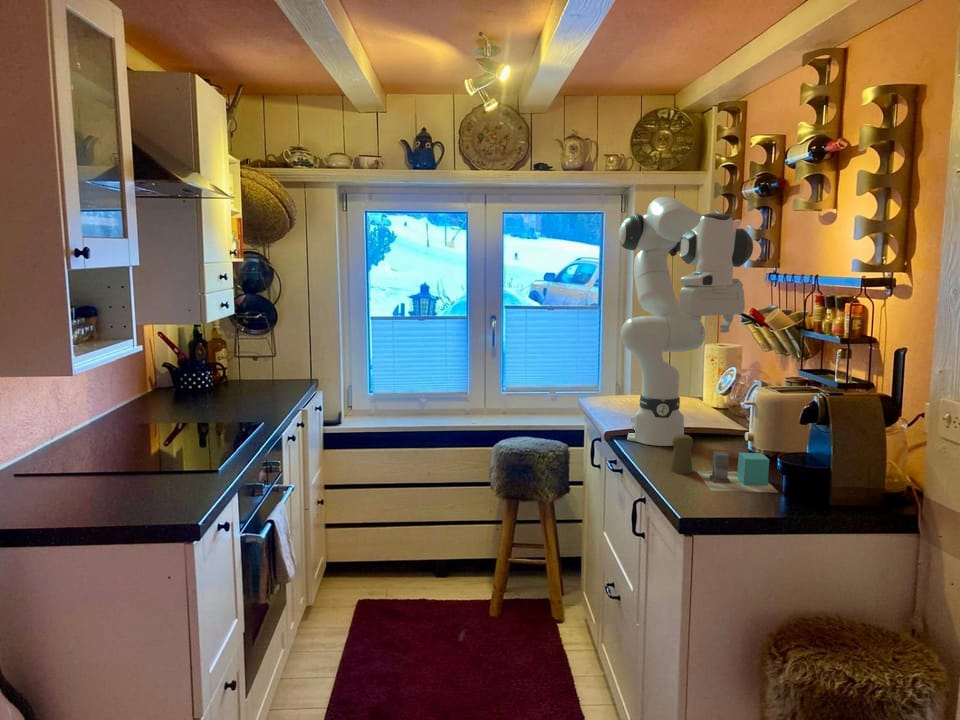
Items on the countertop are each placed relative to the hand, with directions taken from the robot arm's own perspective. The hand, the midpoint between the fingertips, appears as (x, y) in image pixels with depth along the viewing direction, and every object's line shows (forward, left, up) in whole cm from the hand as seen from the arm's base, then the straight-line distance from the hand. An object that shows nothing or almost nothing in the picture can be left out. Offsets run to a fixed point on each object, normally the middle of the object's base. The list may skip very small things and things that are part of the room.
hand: (711, 333), depth 186 cm
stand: (+8, +6, -38) cm, 39 cm away
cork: (0, -6, -38) cm, 39 cm away
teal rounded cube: (+8, +10, -36) cm, 39 cm away
